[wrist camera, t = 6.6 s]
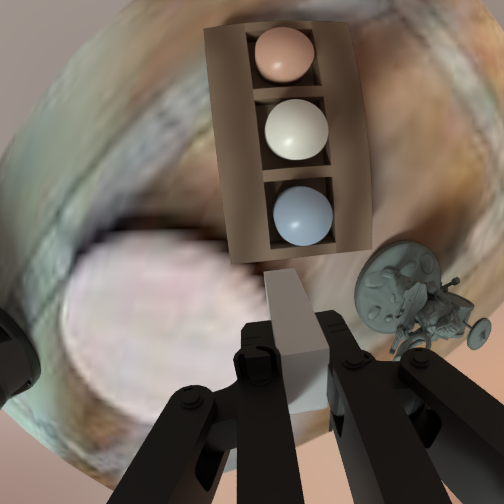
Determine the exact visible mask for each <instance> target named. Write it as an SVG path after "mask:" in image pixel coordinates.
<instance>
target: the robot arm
mask: <svg viewBox="0 0 504 504" xmlns="http://www.w3.org/2000/svg"><path fill="white" fill-rule="evenodd" d="M264 279H265V287H266V296H267V304H268V313H269V320H267V321H259V322H251V323H246V324H245V326H244V327H243V329H242V330H241V349H240V350H239V351H238V352H237V353H236V354H235V356H234V358H233V361H234V366H235V371H236V375H237V380H236V381H235V382H234V383H233V384H232V385H230V386H229V387H227V388H224V389H221V390H218V391H215V392H212V391H211V390H210V389H208V388H207V387H204V386H201V385H190V386H186V387H183V388H181V389H179V390H178V391H176V392H175V393H174V394H173V395H172V396H171V398H170V399H169V401H168V403H167V404H166V406H165V408H164V409H163V411H162V413H161V414H160V416H159V418H158V419H157V421H156V423H155V424H154V426H153V428H152V429H151V431H150V433H149V434H148V436H147V438H146V439H145V441H144V442H143V444H142V446H141V447H140V449H139V451H138V452H137V454H136V456H135V457H134V459H133V461H132V462H131V464H130V466H129V467H128V469H127V470H126V472H125V474H124V475H123V477H122V479H121V480H120V482H119V484H118V485H117V487H116V489H115V490H114V492H113V493H112V495H111V497H110V498H109V500H108V502H107V503H106V504H211V503H212V500H213V498H214V495H215V492H216V490H217V487H218V484H219V481H220V479H221V476H222V473H223V470H224V467H225V465H226V462H227V459H228V456H229V453H230V449H234V448H237V504H305V503H304V497H303V491H302V485H301V479H300V473H299V467H298V461H297V455H296V449H295V443H294V437H293V431H292V426H291V420H290V414H294V413H300V412H306V411H312V410H317V409H323V408H327V399H328V402H329V405H330V420H329V432H330V431H332V427H333V431H334V434H335V437H336V440H337V444H338V448H339V451H340V455H341V458H342V462H343V465H344V469H345V472H346V476H347V479H348V483H349V486H350V490H351V494H352V497H353V501H354V504H452V502H451V500H450V498H449V496H448V493H447V491H446V489H445V487H444V485H443V483H442V481H443V482H444V484H445V485H446V486H447V487H448V488H449V489H450V490H451V491H452V493H454V495H455V496H456V497H457V498H458V499H459V500H460V501H461V502H462V503H463V504H504V405H503V404H502V403H500V402H499V401H498V400H497V399H495V398H494V397H493V396H491V395H490V394H489V393H487V392H486V391H485V390H484V389H482V388H481V387H480V386H479V385H477V384H476V383H475V382H473V381H472V380H471V379H469V378H468V377H467V376H465V375H464V374H463V373H462V372H460V371H459V370H458V369H456V368H455V367H454V366H452V365H451V364H450V363H448V362H447V361H446V360H444V359H443V358H442V357H440V356H439V355H438V354H436V353H435V352H433V351H431V350H429V349H426V348H421V347H419V348H412V349H409V350H407V351H405V352H404V353H403V354H402V356H401V358H400V361H378V360H376V359H375V358H374V357H373V356H372V354H371V353H369V352H367V351H364V350H361V349H360V347H359V345H358V343H357V342H356V340H355V338H354V336H353V335H352V333H351V331H350V330H349V328H348V326H347V324H345V321H344V319H343V318H342V316H341V315H340V314H338V313H337V312H335V311H334V310H329V311H323V312H317V313H314V311H313V309H312V306H311V304H310V302H309V300H308V298H307V295H306V293H305V291H304V289H303V286H302V284H301V282H300V280H299V278H298V275H297V273H296V271H295V269H294V268H290V269H282V270H275V271H267V272H264ZM39 377H40V365H39V362H38V359H37V356H36V354H35V352H34V349H33V348H32V346H31V344H30V342H29V341H28V339H27V337H26V336H25V334H24V333H23V332H22V330H21V329H20V328H19V326H18V325H17V324H16V323H15V322H14V321H13V320H12V319H11V318H10V317H9V316H8V315H7V314H6V313H5V312H4V311H2V310H1V309H0V410H1V408H2V407H3V406H4V404H5V403H6V402H7V401H8V400H9V399H11V398H13V397H15V396H16V395H18V394H20V393H22V392H24V391H26V390H28V389H30V388H31V387H32V386H33V385H34V384H35V383H36V381H37V380H38V379H39ZM441 480H442V481H441Z"/></svg>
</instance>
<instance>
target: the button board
mask: <svg viewBox="0 0 504 504" xmlns="http://www.w3.org/2000/svg"><path fill="white" fill-rule="evenodd" d="M277 27H287V28H292V29H295V30H298V31H300V32H301V33H303V34H304V35H305V36H306V37H307V38H308V39H309V40H310V41H311V43H312V45H313V48H314V59H313V62H312V63H311V65H310V67H309V68H308V70H307V72H306V73H305V75H304V76H303V78H302V79H300V80H299V81H298V82H296V83H294V84H291V85H275V84H272V83H270V82H268V81H266V80H265V79H263V78H262V77H261V76H260V74H259V73H258V71H257V69H256V66H255V47H256V43H257V40H258V39H259V37H260V36H261V35H262V34H263V33H264V32H266V31H268V30H270V29H273V28H277ZM203 30H204V41H205V52H206V62H207V72H208V82H209V91H210V101H211V110H212V119H213V128H214V136H215V145H216V153H217V162H218V170H219V178H220V186H221V193H222V201H223V209H224V216H225V224H226V231H227V239H228V246H229V253H230V260H231V264H240V263H249V262H259V261H269V260H278V259H288V258H297V257H307V256H316V255H325V254H334V253H343V252H352V251H361V250H370V249H372V192H371V173H370V158H369V147H368V136H367V127H366V118H365V111H364V103H363V96H362V90H361V84H360V78H359V72H358V67H357V62H356V56H355V52H354V47H353V42H352V38H351V34H350V29H349V25H348V23H344V22H330V21H266V22H252V23H241V24H232V25H224V26H217V27H211V28H205V29H203ZM292 99H300V100H305V101H308V102H310V103H312V104H314V105H315V106H316V107H317V108H319V109H320V110H321V112H322V113H323V114H324V116H325V118H326V120H327V123H328V138H327V141H326V144H325V145H324V147H323V148H322V150H321V151H320V152H319V153H317V154H316V155H314V156H312V157H310V158H307V159H302V160H288V159H284V158H282V157H279V156H278V155H276V154H275V153H274V152H273V151H272V150H271V149H270V148H269V146H268V145H267V143H266V140H265V135H264V130H265V125H266V122H267V119H268V116H269V114H270V112H271V111H272V110H273V109H274V108H275V107H276V106H277V105H278V104H280V103H282V102H284V101H287V100H292ZM292 185H304V186H307V187H310V188H312V189H314V190H316V191H318V192H320V193H321V194H322V195H324V196H325V197H326V199H327V200H328V202H329V203H330V206H331V208H332V214H333V219H332V224H331V227H330V229H329V231H328V233H327V234H326V235H325V237H324V238H323V239H321V240H320V241H318V242H317V243H314V244H312V245H307V246H298V245H294V244H292V243H290V242H288V241H286V240H285V239H284V238H283V237H282V236H281V235H280V233H279V232H278V230H277V227H276V224H275V222H274V218H273V214H272V207H273V203H274V200H275V198H276V197H277V195H278V194H279V193H280V192H281V191H282V190H283V189H285V188H287V187H289V186H292Z"/></svg>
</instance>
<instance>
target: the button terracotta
mask: <svg viewBox="0 0 504 504" xmlns="http://www.w3.org/2000/svg"><path fill="white" fill-rule="evenodd" d="M313 59H314V48H313V45H312V43H311V41H310V40H309V39H308V38H307V37H306V36H305V35H304V34H303V33H301V32H300V31H298V30H295V29H292V28H287V27H277V28H273V29H270V30H268V31H266V32H264V33H263V34H262V35H261V36H260V37H259V39H258V40H257V43H256V47H255V66H256V69H257V71H258V73H259V74H260V76H261V77H262V78H263V79H265V80H266V81H268V82H270V83H272V84H275V85H291V84H294V83H296V82H298V81H299V80H300V79H302V78H303V76H304V75H305V73H306V72H307V70H308V68H309V67H310V65H311V63H312V62H313Z"/></svg>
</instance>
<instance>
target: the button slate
mask: <svg viewBox="0 0 504 504" xmlns="http://www.w3.org/2000/svg"><path fill="white" fill-rule="evenodd" d="M272 214H273V218H274V222H275V224H276V227H277V230H278V232H279V233H280V235H281V236H282V237H283V238H284V239H285V240H286V241H288V242H290V243H292V244H294V245H298V246H307V245H312V244H314V243H317V242H318V241H320V240H321V239H323V238H324V237H325V235H326V234H327V233H328V231H329V229H330V227H331V224H332V219H333V214H332V208H331V206H330V203H329V202H328V200H327V199H326V197H325V196H324V195H322V194H321V193H320V192H318V191H316V190H314V189H312V188H310V187H307V186H304V185H292V186H289V187H287V188H285V189H283V190H282V191H281V192H280V193H279V194H278V195H277V197H276V198H275V200H274V203H273V207H272Z"/></svg>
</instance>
